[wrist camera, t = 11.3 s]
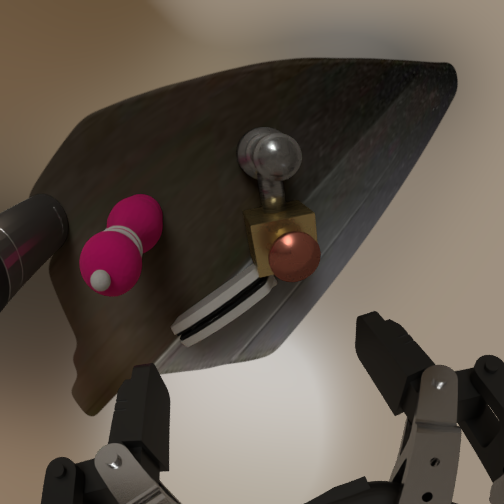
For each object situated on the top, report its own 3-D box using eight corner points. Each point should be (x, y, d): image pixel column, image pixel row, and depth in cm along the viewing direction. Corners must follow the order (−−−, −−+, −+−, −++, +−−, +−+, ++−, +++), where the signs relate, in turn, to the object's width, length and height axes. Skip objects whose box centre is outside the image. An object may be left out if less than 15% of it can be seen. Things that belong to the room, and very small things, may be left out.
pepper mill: (108, 224, 39) (49, 296, 21) (131, 180, 38) (75, 225, 19) (150, 249, 42) (120, 336, 24) (175, 207, 40) (155, 273, 22)
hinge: (197, 336, 49) (181, 363, 39) (179, 314, 48) (160, 336, 39) (279, 280, 47) (283, 297, 37) (261, 255, 47) (260, 266, 37)
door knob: (241, 136, 36) (250, 137, 29) (281, 130, 36) (298, 130, 30) (248, 175, 38) (258, 184, 32) (287, 168, 38) (304, 176, 32)
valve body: (250, 255, 45) (265, 292, 35) (228, 132, 37) (237, 132, 27) (302, 244, 45) (329, 277, 35) (286, 123, 38) (315, 122, 28)
